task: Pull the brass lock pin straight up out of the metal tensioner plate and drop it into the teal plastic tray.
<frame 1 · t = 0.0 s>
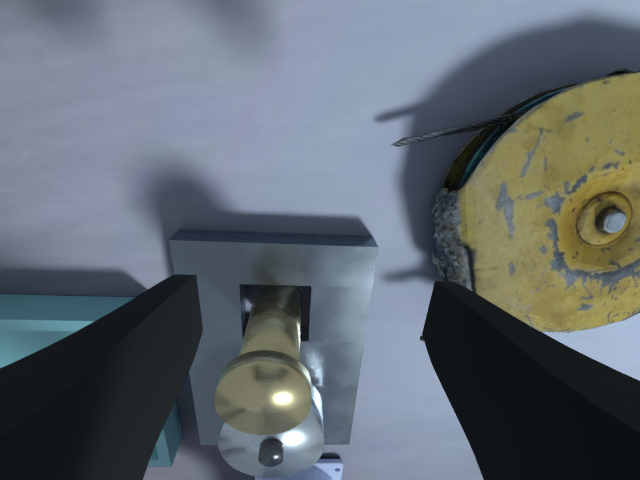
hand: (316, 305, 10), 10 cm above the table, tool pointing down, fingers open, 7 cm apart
tensioner plate: (277, 345, 23), on the table
tray: (75, 373, 23), on the table
pulley block: (632, 183, 20), on the table
lock pin: (277, 300, 22), resting in tensioner plate
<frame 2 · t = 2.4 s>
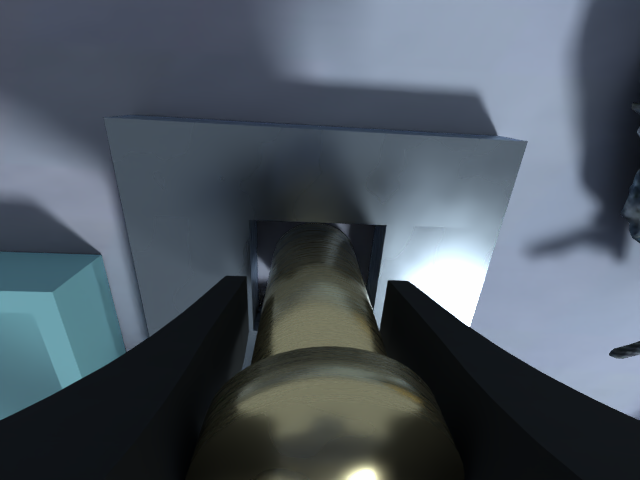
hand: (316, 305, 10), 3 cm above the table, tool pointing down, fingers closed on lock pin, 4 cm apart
tensioner plate: (309, 341, 14), on the table
lock pin: (314, 261, 12), resting in tensioner plate, touching gripper
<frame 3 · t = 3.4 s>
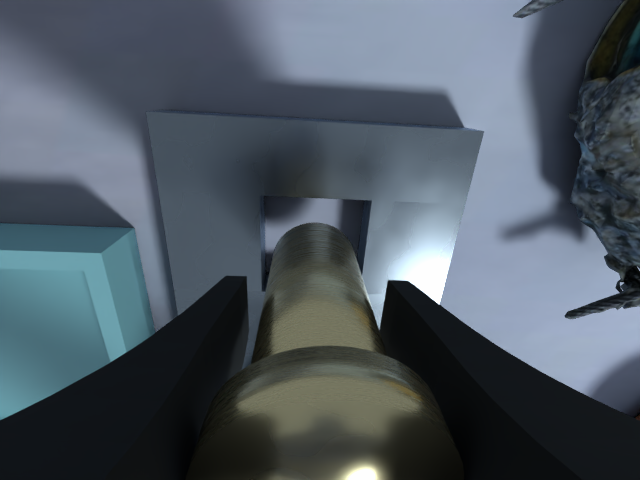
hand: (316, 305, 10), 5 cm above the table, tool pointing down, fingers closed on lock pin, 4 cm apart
tensioner plate: (309, 305, 16), on the table
tray: (21, 346, 16), on the table
lock pin: (314, 260, 12), point 2 cm above the table, touching gripper
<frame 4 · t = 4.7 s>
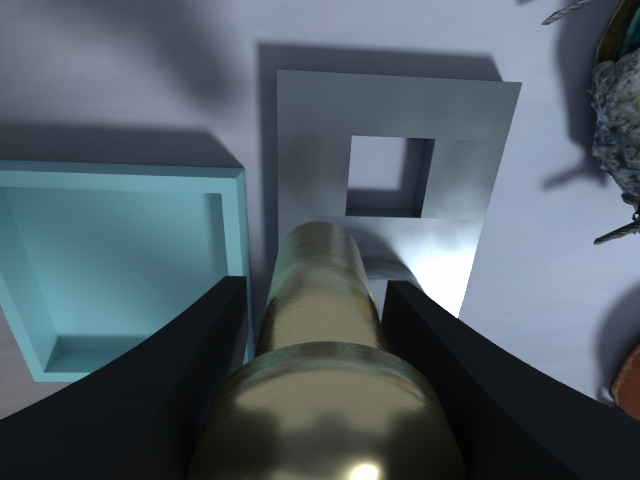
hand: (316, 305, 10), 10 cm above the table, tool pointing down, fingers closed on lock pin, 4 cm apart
tensioner plate: (374, 235, 20), on the table
tray: (142, 272, 21), on the table
lock pin: (318, 259, 12), point 7 cm above the table, touching gripper
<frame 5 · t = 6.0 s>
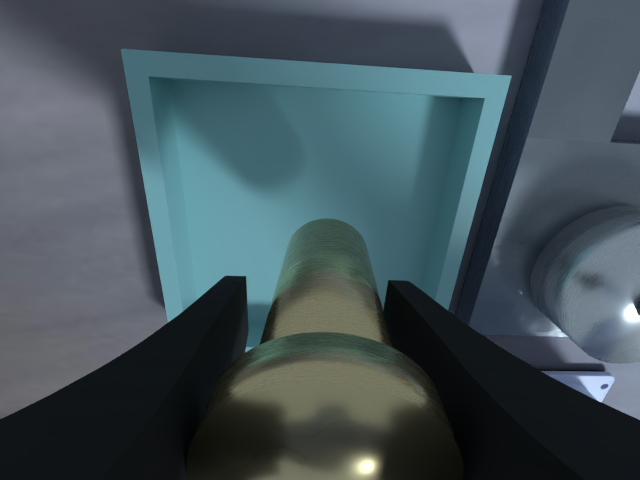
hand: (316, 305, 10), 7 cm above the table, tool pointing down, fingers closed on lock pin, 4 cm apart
tensioner plate: (609, 177, 16), on the table
tray: (312, 221, 16), on the table
lock pin: (326, 256, 12), point 4 cm above the table, touching gripper
when the fingers open (5 cm above the table, at t = 7.3 s): lock pin drops 1 cm, resting on tray.
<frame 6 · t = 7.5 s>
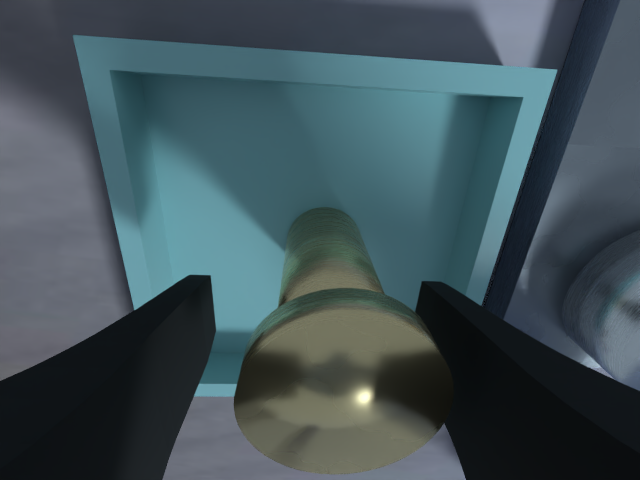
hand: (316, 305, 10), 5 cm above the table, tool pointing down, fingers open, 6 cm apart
tray: (313, 239, 14), on the table
lock pin: (323, 242, 14), point 1 cm above the table, touching tray
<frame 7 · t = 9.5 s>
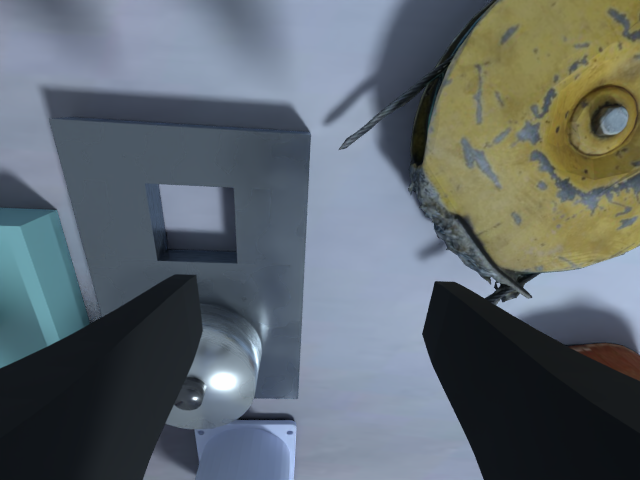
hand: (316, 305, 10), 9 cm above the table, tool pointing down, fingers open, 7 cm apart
tensioner plate: (207, 276, 20), on the table
pulley block: (638, 54, 16), on the table
belt: (569, 399, 27), on the table
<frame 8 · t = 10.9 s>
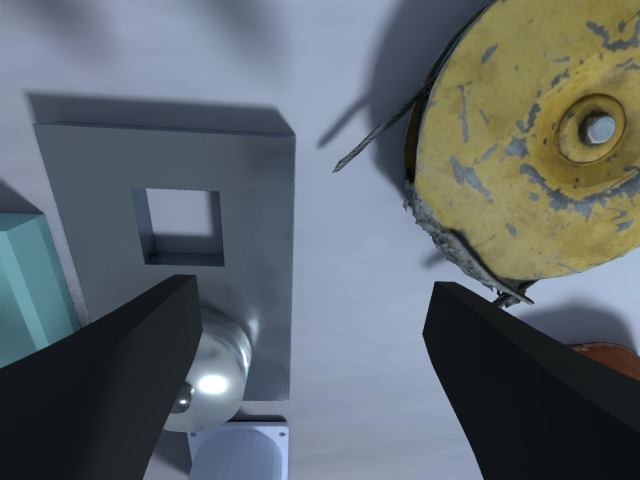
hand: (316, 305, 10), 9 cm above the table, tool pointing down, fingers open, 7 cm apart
tensioner plate: (196, 279, 20), on the table
pulley block: (626, 53, 16), on the table
belt: (567, 399, 26), on the table
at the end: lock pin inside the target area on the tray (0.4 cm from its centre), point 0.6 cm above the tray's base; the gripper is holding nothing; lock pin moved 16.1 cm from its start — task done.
